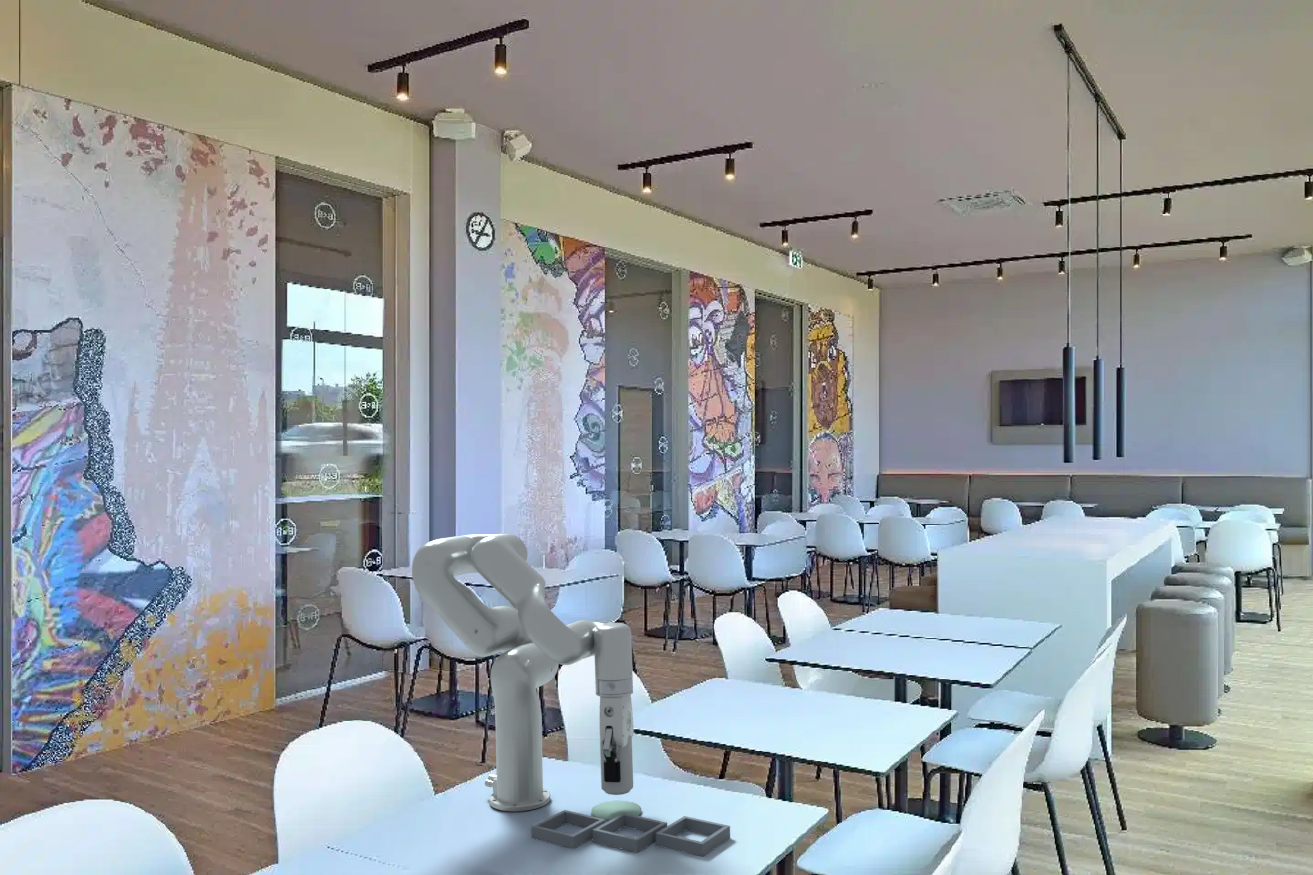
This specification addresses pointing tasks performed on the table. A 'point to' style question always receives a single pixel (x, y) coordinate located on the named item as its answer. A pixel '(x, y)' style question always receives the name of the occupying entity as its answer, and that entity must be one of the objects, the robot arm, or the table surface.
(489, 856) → the table surface
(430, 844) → the table surface
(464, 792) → the table surface
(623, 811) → the coaster
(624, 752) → the beverage can
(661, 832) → the tray
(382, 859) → the table surface
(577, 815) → the tray
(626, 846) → the tray
